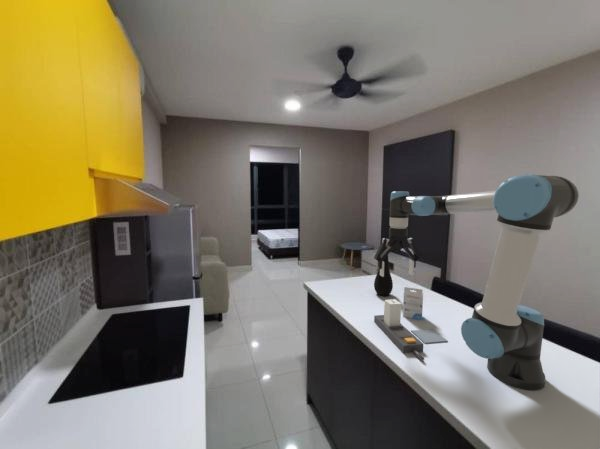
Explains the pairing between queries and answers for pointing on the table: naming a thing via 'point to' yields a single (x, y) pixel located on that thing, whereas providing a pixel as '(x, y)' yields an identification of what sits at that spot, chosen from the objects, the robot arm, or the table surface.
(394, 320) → the block
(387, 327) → the power strip
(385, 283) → the bottle
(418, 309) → the ink box
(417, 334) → the mat
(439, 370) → the table surface
